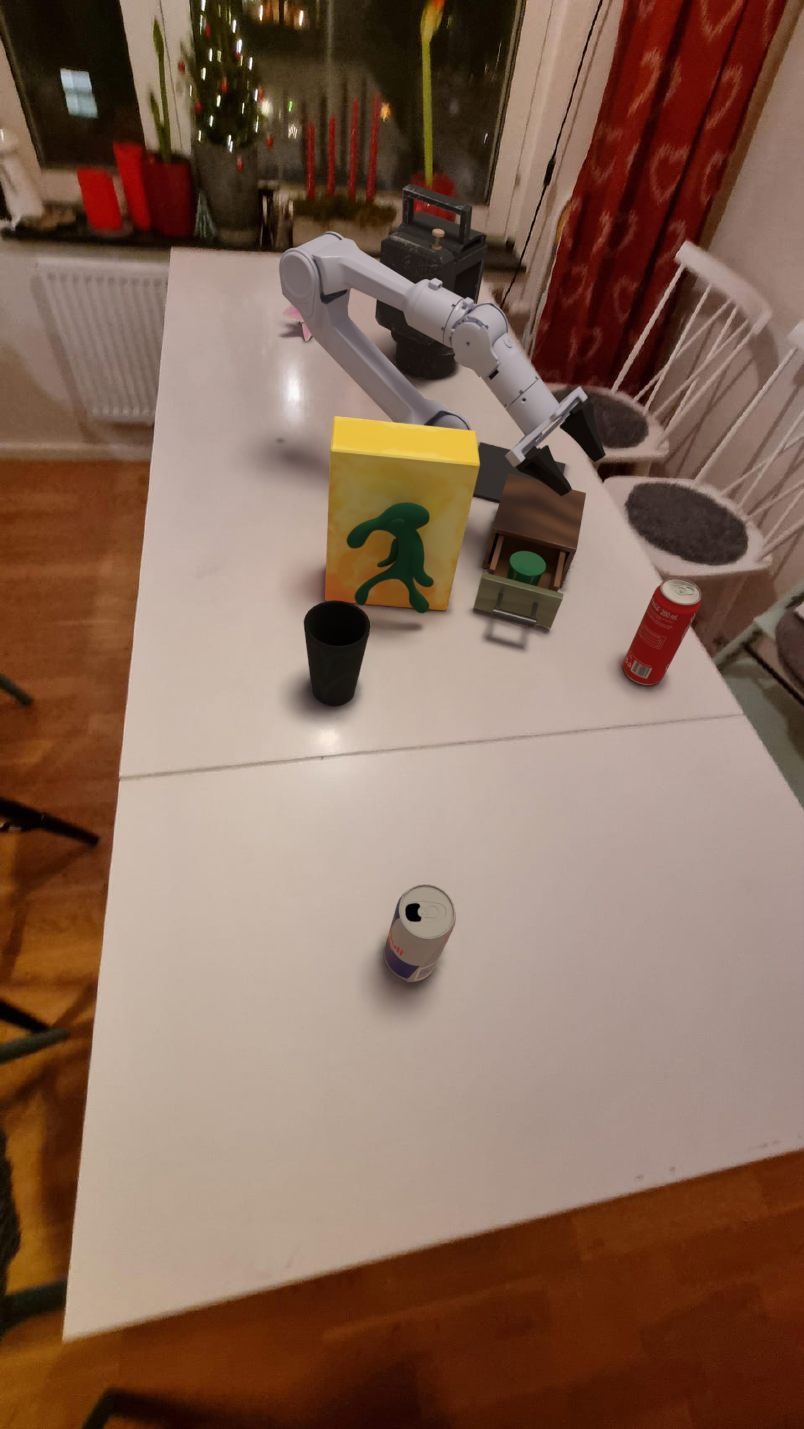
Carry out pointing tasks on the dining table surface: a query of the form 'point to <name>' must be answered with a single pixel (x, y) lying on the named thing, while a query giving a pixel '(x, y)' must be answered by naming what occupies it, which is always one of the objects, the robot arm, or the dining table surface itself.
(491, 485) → the mat
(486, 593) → the drawer
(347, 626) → the cup
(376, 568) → the mottled yellow carton
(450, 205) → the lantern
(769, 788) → the dining table surface
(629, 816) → the dining table surface
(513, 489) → the cabinet
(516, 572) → the green cylinder
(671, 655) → the beverage can
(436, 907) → the energy drink
